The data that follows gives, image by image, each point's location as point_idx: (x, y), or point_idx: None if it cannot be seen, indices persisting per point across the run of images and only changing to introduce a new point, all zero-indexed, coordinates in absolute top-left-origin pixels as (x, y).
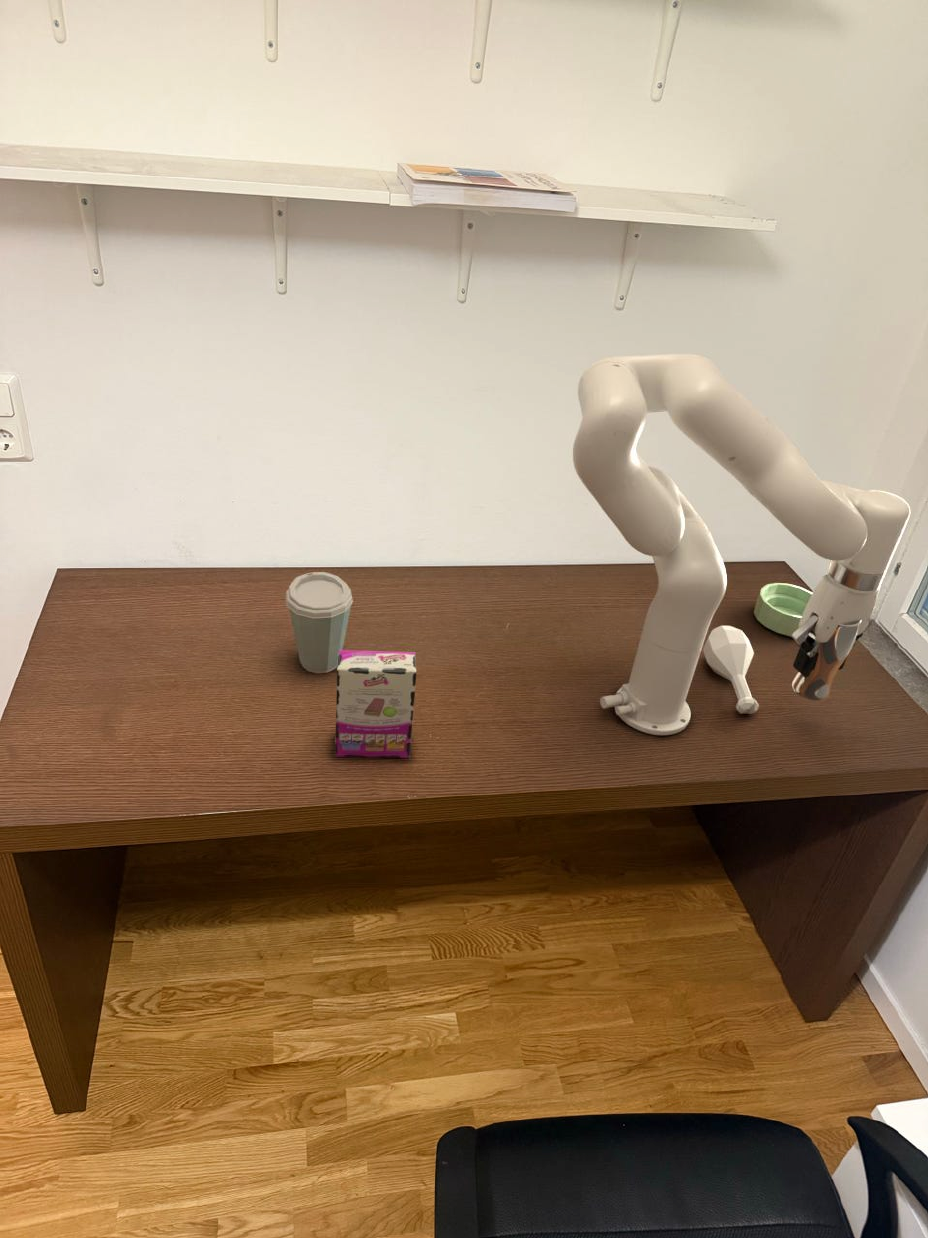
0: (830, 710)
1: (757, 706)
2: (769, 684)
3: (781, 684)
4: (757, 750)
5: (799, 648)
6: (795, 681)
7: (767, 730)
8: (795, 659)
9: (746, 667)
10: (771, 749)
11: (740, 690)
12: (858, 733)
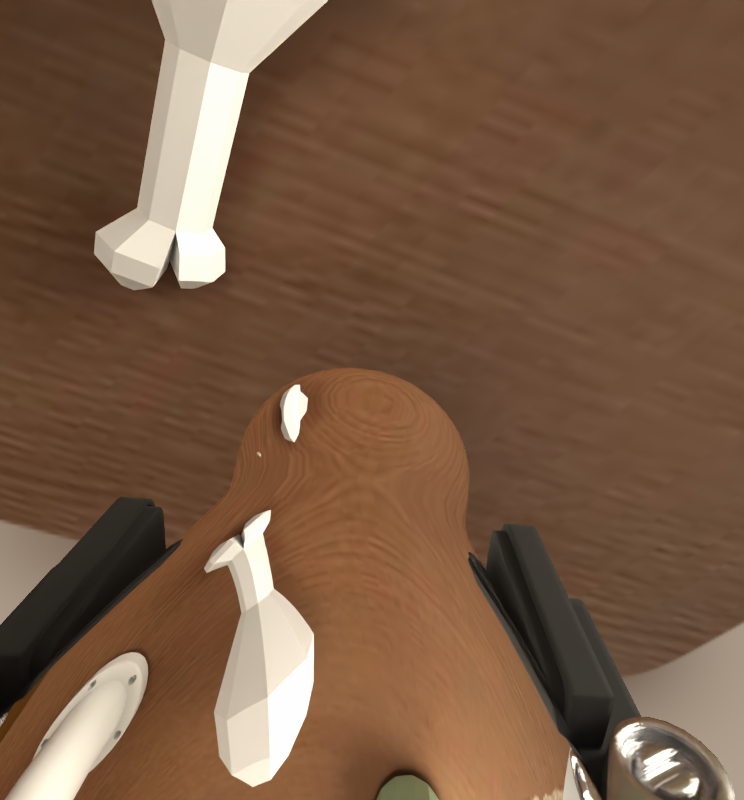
0: (592, 373)
1: (200, 283)
2: (468, 101)
3: (531, 127)
4: (99, 445)
5: (5, 624)
6: (241, 451)
7: (216, 372)
8: (87, 535)
9: (263, 16)
10: (159, 460)
11: (151, 164)
12: (574, 514)
